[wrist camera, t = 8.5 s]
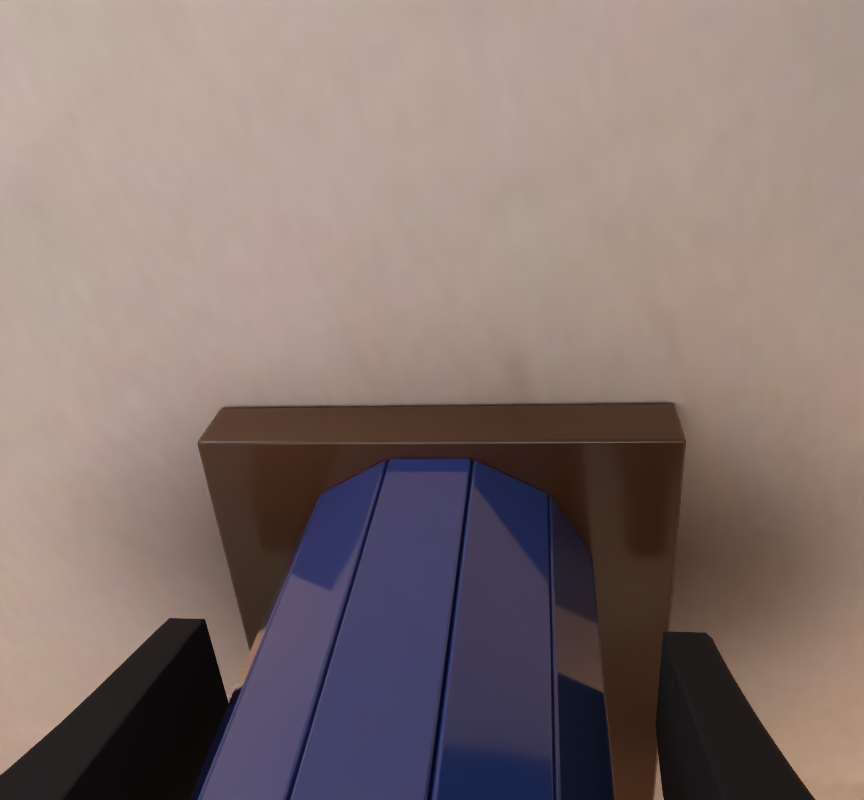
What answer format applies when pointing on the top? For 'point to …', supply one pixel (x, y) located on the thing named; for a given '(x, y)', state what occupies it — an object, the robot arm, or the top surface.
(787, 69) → the top surface
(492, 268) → the top surface
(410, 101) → the top surface
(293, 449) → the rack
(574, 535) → the blue ribbed canister
